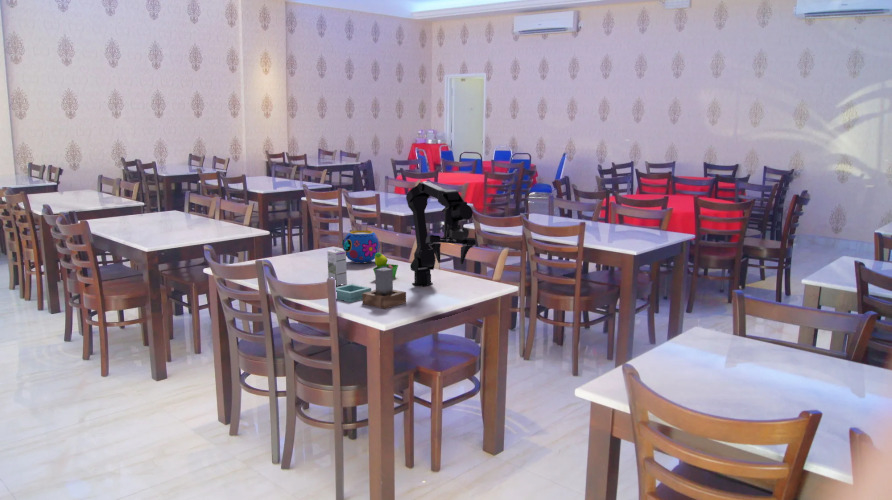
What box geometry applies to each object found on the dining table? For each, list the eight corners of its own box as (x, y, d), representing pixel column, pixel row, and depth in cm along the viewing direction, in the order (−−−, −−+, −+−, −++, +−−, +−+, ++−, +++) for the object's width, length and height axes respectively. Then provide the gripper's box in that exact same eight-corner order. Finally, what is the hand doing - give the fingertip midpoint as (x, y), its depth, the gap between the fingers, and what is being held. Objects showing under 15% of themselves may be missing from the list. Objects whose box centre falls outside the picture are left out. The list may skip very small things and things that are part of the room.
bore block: (362, 303, 257) (362, 293, 256) (384, 297, 265) (384, 287, 265) (384, 308, 250) (384, 298, 249) (406, 302, 258) (406, 292, 258)
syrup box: (347, 284, 288) (346, 250, 286) (336, 286, 284) (335, 252, 281) (339, 282, 292) (338, 248, 290) (327, 284, 288) (326, 250, 285)
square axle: (375, 303, 257) (375, 269, 255) (384, 301, 261) (383, 267, 258) (384, 305, 254) (383, 271, 252) (392, 302, 258) (392, 269, 255)
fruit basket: (388, 281, 293) (388, 255, 291) (369, 280, 296) (369, 254, 294) (399, 276, 304) (398, 251, 302) (380, 274, 306) (380, 249, 304)
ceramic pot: (341, 259, 340) (340, 229, 338) (377, 258, 344) (376, 228, 342) (345, 266, 324) (344, 235, 321) (382, 264, 328) (382, 233, 325)
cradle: (327, 297, 266) (327, 289, 266) (352, 291, 276) (351, 283, 276) (350, 302, 258) (350, 294, 258) (375, 296, 268) (374, 287, 268)
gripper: (435, 218, 252) (434, 260, 250) (482, 222, 258) (481, 263, 256) (426, 222, 262) (424, 262, 261) (471, 225, 269) (470, 265, 267)
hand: (450, 263), depth 261 cm, fingers open, 9 cm apart
